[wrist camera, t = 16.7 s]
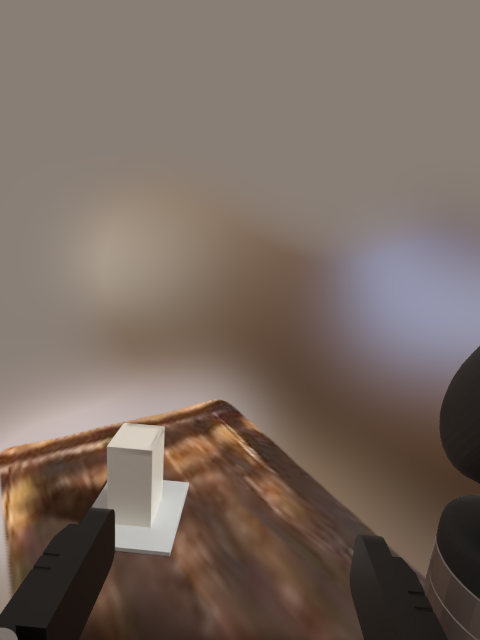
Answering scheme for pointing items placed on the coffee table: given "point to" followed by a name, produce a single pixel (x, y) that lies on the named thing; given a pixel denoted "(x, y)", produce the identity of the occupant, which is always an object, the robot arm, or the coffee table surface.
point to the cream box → (135, 474)
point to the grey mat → (163, 525)
